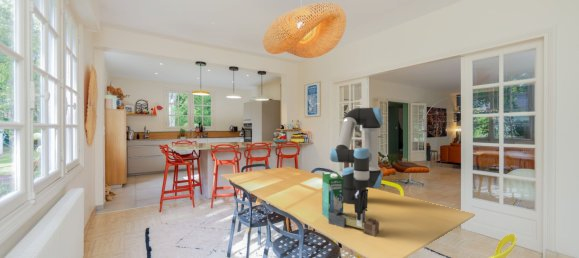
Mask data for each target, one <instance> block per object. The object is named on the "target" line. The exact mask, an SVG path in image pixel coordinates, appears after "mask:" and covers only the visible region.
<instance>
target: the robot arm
mask: <svg viewBox="0 0 579 258" xmlns="http://www.w3.org/2000/svg"><path fill="white" fill-rule="evenodd" d="M383 120H384V119H383V113H382V110H381V108H380V107H356V108H352V109H351V110H349V111H348V112H347V113H345V115H344V116H343V118H342V121H341V130H340V133H339V137H338V139H337V143H336V146H335V148H331V149H330V150H329V160H330V161H331V162H333V163H341V164H342V163H344V164H353V166H347V167H344V168H343V169H342V173H341V177H342V178H343V204H344V203H345V204H351V205H354V213H355V214H356V218H357V226H360V227H362V208H363V209H365V212H368V198H369V197H368V196H369V189H370V188H371V189H380V188H381V187H382V180H383V176H384V172H383V170H381V167H380V166H379V131H380V129H381V126H383V125H384V121H383ZM357 126H361V128H362V130H363V131H364V147H355V148H354V149H350V148H351V143H352V139H353V136H354V135H353V134H354V130H355V128H356V127H357ZM368 188H369V189H368Z"/></svg>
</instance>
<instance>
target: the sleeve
mask: <svg viewBox="0 0 579 258" xmlns="http://www.w3.org/2000/svg"><path fill="white" fill-rule="evenodd" d="M341 215H345V216H349V217H350V214H349V213H346V212H344V211H343V212H341V211H340V210H336V209H333V210H331V211H330V212H329V220H328V224H329V225H334V226H336V227H340V228H345V227H347V226H348V225H346V224H345V217H343V216H341Z"/></svg>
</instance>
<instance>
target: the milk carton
mask: <svg viewBox="0 0 579 258" xmlns="http://www.w3.org/2000/svg"><path fill="white" fill-rule="evenodd" d="M321 189H322V191H321V192H322V193H321V194H322V200H321V201H322V204H321V205H322V207H321V208H322V210H321V211H322V215H323V216H324V217H325V218H326V219H327V220H328V221H329V212H330V211H331V210H333V209H336V210H340V211H341V212H343V213H344V202H343V178H342V175H340V173H338V172H337V171H327V172H325V171H324V172H322V188H321Z"/></svg>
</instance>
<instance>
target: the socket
mask: <svg viewBox="0 0 579 258" xmlns="http://www.w3.org/2000/svg"><path fill="white" fill-rule="evenodd" d="M365 221H366V222H364V229H363V234H365V235H368V236H371V237H376V236H377V234H378V233H380V221H378V220H377V218H375V217H369V218H368V219H367V220H365Z"/></svg>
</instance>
